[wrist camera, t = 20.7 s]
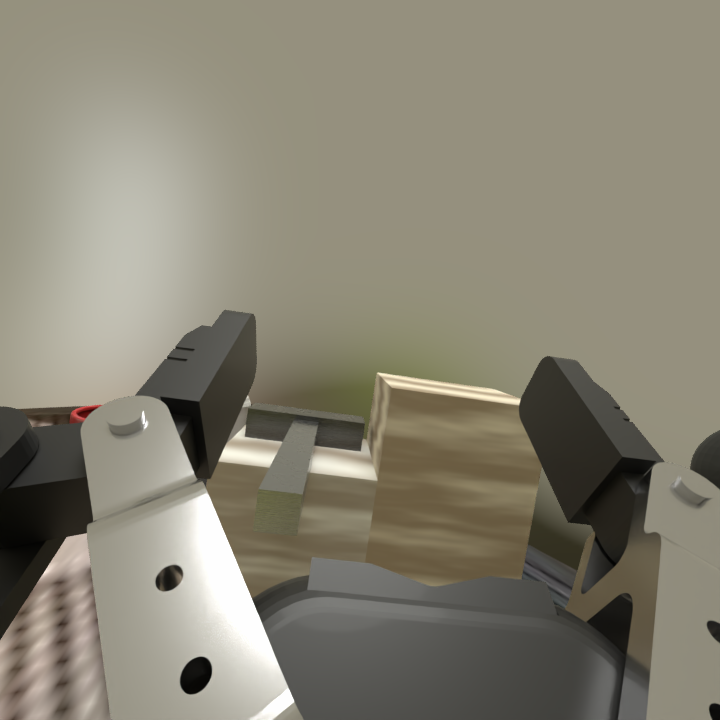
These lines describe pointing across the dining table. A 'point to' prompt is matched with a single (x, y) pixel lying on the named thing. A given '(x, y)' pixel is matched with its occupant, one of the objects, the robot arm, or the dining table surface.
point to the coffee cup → (240, 419)
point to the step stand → (397, 491)
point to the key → (294, 458)
